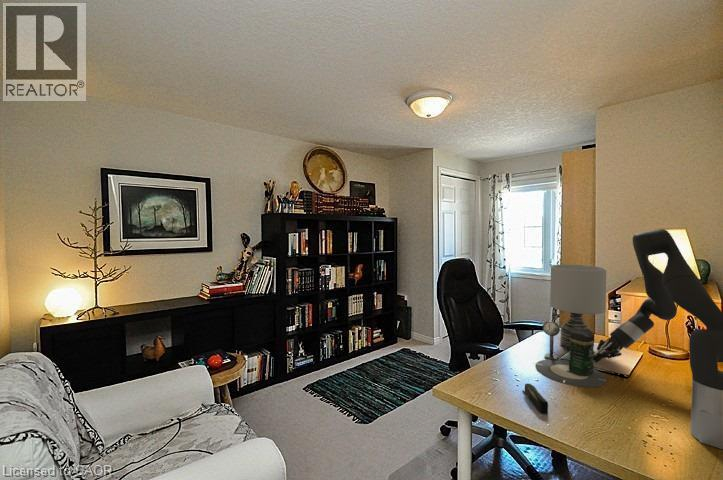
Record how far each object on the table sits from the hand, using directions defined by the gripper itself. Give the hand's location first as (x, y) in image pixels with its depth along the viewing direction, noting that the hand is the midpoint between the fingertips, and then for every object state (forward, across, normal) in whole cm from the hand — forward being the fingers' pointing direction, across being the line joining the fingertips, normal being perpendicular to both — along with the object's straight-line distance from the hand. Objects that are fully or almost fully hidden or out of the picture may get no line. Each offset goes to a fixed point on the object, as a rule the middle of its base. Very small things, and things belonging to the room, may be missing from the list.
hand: (593, 360), depth 138 cm
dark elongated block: (+27, -29, +19) cm, 44 cm away
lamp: (0, +32, -9) cm, 33 cm away
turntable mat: (+11, -1, +3) cm, 12 cm away
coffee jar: (+8, -1, 0) cm, 8 cm away
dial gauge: (+12, +14, +4) cm, 19 cm away
